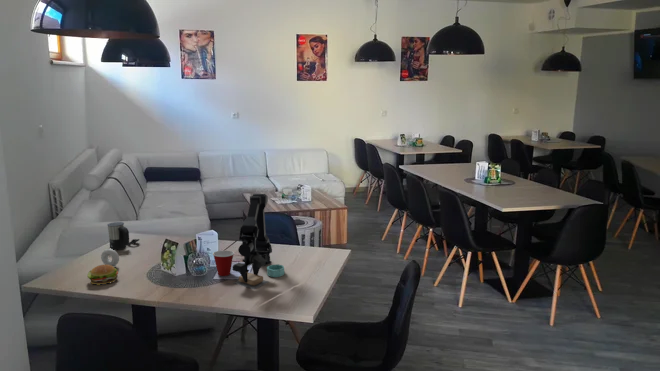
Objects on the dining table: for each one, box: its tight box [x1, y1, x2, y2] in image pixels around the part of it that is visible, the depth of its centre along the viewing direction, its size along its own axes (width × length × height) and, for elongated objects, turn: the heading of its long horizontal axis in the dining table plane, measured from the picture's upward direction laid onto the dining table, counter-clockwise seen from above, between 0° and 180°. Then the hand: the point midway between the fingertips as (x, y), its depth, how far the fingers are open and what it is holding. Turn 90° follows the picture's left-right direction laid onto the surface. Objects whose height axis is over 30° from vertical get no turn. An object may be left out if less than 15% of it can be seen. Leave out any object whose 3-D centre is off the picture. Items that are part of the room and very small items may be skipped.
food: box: [87, 264, 119, 286], centre depth 243 cm, size 14×14×8 cm
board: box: [238, 272, 264, 286], centre depth 239 cm, size 10×6×2 cm, turn 56°
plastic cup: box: [212, 250, 235, 277], centre depth 250 cm, size 11×11×12 cm
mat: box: [233, 279, 269, 290], centre depth 240 cm, size 14×11×1 cm
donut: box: [100, 248, 120, 267], centre depth 262 cm, size 10×4×10 cm, turn 78°
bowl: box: [266, 263, 285, 278], centre depth 250 cm, size 8×8×4 cm
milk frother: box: [106, 221, 140, 250], centre depth 296 cm, size 14×16×15 cm
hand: (251, 279), depth 240 cm, fingers closed on board, 6 cm apart
